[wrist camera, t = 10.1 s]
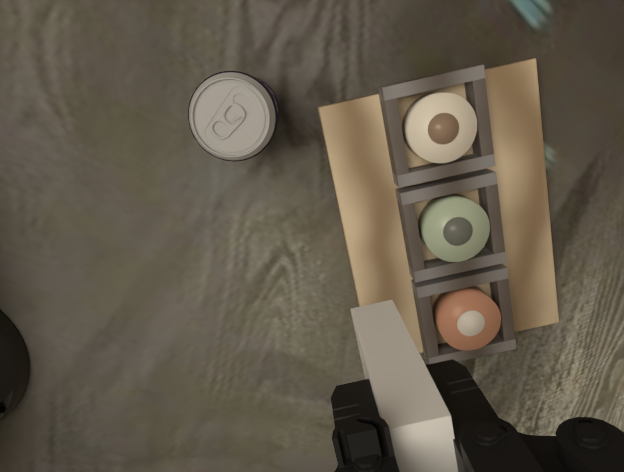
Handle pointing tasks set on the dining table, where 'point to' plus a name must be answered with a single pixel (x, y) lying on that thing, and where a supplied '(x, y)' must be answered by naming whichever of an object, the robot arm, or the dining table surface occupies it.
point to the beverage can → (233, 115)
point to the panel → (440, 182)
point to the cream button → (439, 127)
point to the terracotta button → (466, 318)
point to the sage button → (453, 227)
